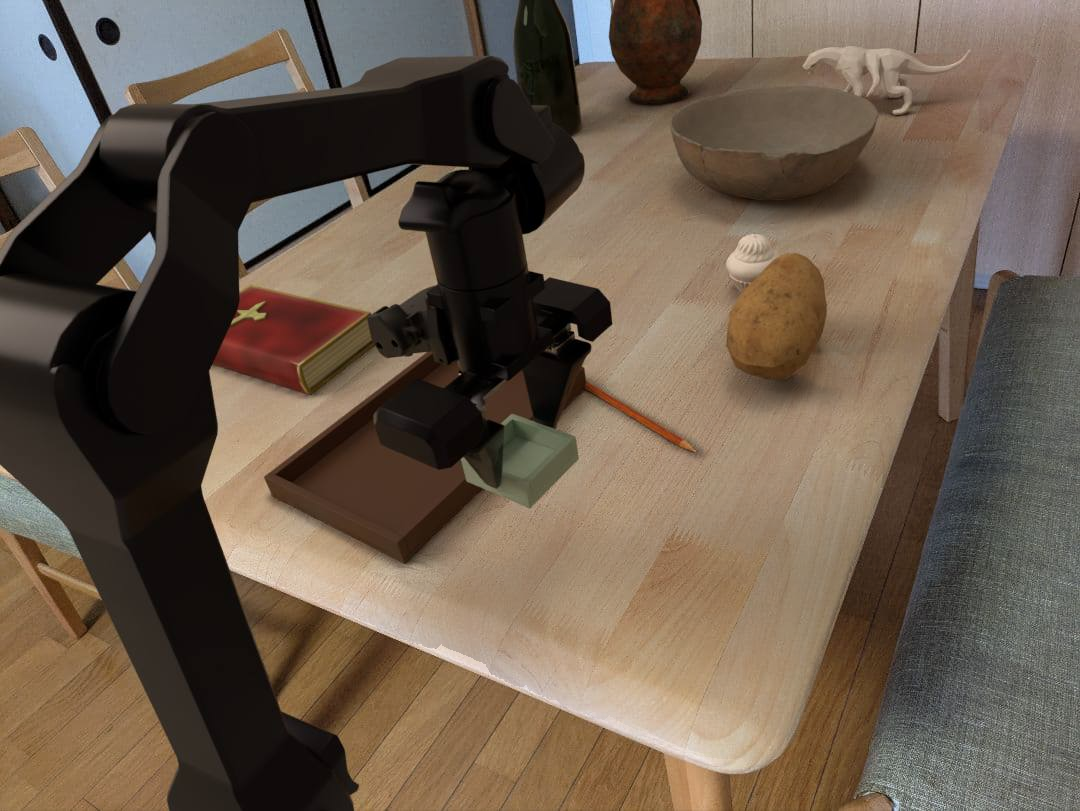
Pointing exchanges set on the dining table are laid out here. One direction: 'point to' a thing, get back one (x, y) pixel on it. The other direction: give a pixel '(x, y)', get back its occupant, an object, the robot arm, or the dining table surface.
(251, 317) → the book
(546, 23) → the beer bottle
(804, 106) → the bowl
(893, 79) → the white dinosaur figurine
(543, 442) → the celadon dish
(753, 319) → the potato
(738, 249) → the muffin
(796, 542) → the dining table surface
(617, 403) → the pencil
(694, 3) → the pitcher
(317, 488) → the tray
